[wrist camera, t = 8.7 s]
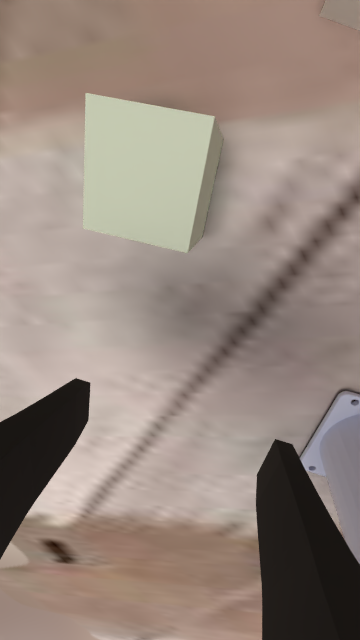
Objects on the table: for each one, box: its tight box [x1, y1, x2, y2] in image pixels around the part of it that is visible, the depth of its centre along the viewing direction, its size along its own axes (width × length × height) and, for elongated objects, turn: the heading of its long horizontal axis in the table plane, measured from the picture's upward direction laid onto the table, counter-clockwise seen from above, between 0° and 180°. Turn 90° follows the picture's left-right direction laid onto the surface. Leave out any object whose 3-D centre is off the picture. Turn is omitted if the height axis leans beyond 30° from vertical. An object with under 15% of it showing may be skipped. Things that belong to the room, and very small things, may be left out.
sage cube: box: [83, 93, 223, 253], centre depth 13 cm, size 5×5×5 cm
